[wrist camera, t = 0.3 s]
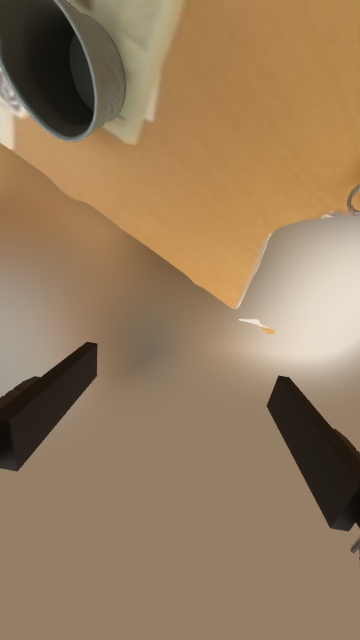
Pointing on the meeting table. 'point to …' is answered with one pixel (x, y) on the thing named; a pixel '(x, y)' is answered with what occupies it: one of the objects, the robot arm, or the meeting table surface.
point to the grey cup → (60, 66)
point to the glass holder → (349, 206)
